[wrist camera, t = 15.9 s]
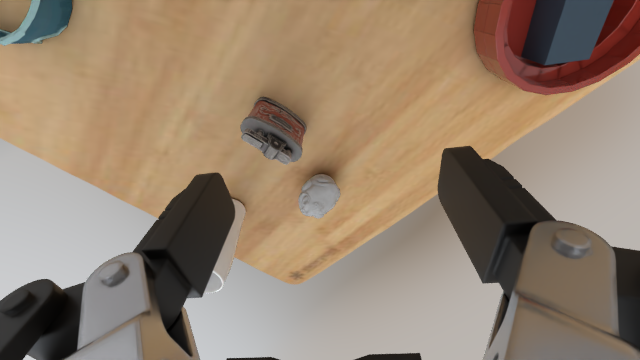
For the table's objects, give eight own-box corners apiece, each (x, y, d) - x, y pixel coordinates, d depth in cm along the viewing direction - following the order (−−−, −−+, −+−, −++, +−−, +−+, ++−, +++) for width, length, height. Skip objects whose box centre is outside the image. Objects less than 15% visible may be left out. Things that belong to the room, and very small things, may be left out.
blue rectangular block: (550, -51, 26) (584, -58, 23) (598, -60, 26) (642, -68, 22) (520, 57, 32) (544, 65, 28) (560, 51, 31) (589, 59, 28)
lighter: (310, 123, 38) (305, 159, 30) (298, 140, 40) (290, 178, 32) (261, 91, 36) (242, 120, 28) (250, 110, 38) (229, 143, 29)
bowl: (489, -85, 25) (523, -100, 21) (685, -123, 24) (768, -150, 19) (461, 88, 35) (480, 103, 30) (599, 71, 33) (641, 83, 29)
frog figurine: (293, 182, 45) (287, 209, 39) (323, 157, 42) (322, 184, 36) (318, 202, 47) (316, 231, 41) (348, 180, 44) (350, 208, 39)
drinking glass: (228, 187, 46) (191, 258, 34) (258, 209, 49) (234, 282, 36) (206, 206, 49) (164, 278, 36) (235, 226, 51) (206, 299, 39)
